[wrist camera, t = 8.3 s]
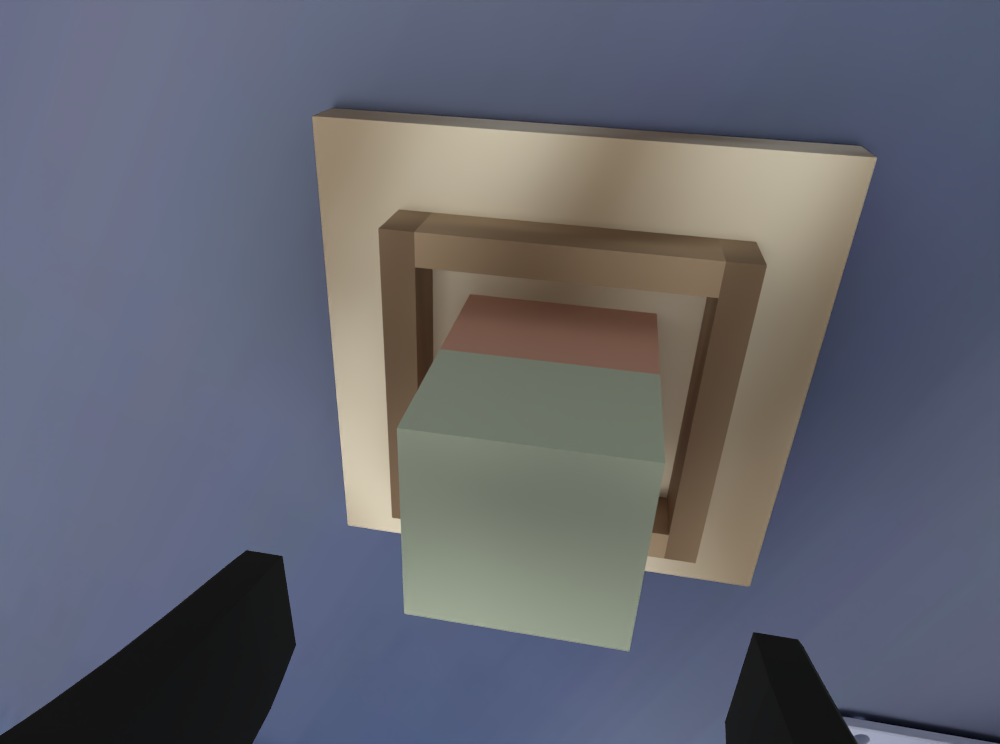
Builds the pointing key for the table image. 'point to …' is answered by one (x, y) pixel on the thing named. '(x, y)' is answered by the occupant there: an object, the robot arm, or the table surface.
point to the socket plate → (592, 288)
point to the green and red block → (534, 471)
